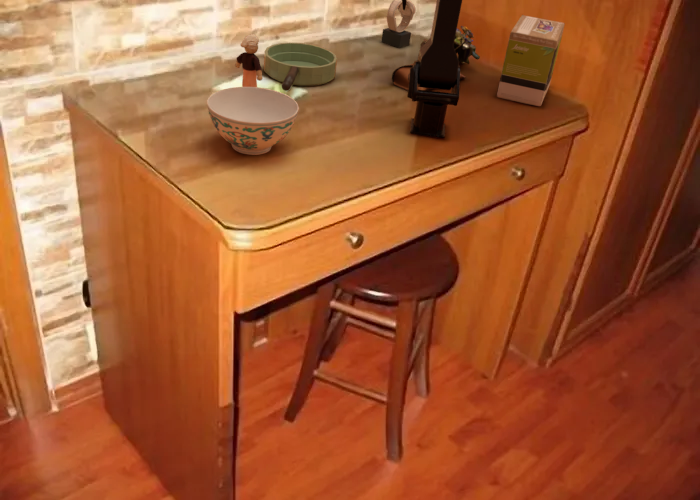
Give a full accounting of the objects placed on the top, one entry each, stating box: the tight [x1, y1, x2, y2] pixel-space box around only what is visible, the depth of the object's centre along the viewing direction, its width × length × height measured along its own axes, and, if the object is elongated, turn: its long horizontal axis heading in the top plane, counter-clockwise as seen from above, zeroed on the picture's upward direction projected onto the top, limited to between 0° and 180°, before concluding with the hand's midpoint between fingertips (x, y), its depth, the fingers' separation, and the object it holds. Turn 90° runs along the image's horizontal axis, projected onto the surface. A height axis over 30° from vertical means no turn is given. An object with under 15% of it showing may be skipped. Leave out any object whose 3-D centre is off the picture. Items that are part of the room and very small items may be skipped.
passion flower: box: [420, 25, 481, 65], centre depth 170 cm, size 11×11×12 cm
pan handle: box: [281, 66, 299, 92], centre depth 144 cm, size 11×2×2 cm, turn 174°
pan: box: [263, 42, 338, 87], centre depth 155 cm, size 15×15×4 cm
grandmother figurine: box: [234, 34, 263, 87], centre depth 138 cm, size 8×4×13 cm, turn 56°
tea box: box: [496, 14, 565, 107], centre depth 159 cm, size 15×10×15 cm, turn 160°
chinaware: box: [206, 86, 300, 156], centre depth 123 cm, size 15×15×8 cm
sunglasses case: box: [391, 62, 467, 92], centre depth 161 cm, size 18×7×7 cm, turn 139°
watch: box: [381, 0, 417, 49], centre depth 179 cm, size 6×8×11 cm
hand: (425, 11), depth 155 cm, fingers open, 9 cm apart
